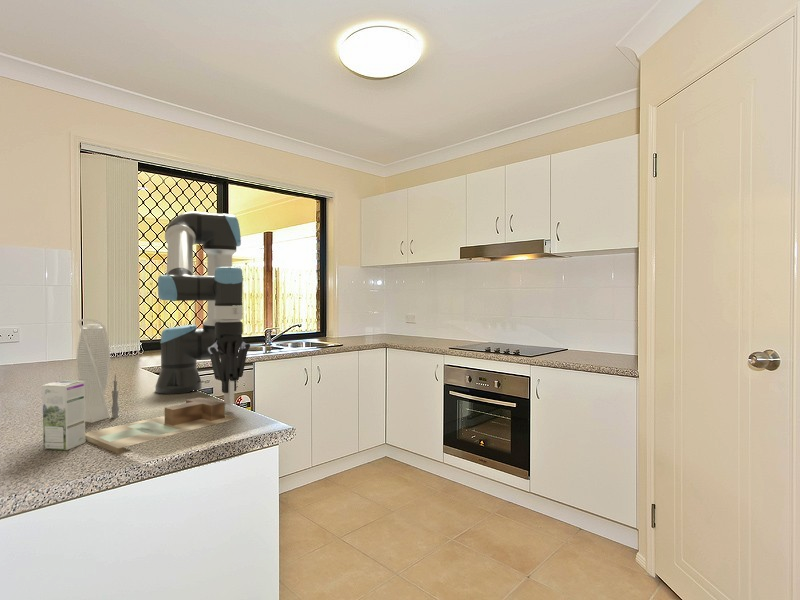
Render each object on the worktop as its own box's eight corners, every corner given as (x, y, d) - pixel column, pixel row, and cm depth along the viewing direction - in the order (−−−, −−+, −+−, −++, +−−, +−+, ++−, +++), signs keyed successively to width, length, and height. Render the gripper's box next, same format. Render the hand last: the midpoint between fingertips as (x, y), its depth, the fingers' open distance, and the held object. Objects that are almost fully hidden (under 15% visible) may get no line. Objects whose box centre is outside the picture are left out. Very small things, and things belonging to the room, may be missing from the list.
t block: (199, 411, 129) (199, 397, 129) (224, 417, 122) (224, 402, 122) (156, 420, 119) (156, 405, 119) (181, 428, 112) (181, 412, 112)
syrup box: (86, 442, 105) (86, 379, 105) (65, 451, 99) (65, 384, 99) (63, 441, 106) (63, 379, 106) (41, 450, 100) (41, 384, 100)
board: (198, 412, 133) (198, 408, 133) (239, 422, 122) (239, 418, 122) (81, 438, 108) (81, 433, 108) (118, 454, 97) (118, 448, 97)
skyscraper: (94, 429, 116) (94, 319, 116) (67, 427, 118) (67, 319, 117) (120, 420, 124) (120, 317, 124) (95, 418, 126) (95, 317, 126)
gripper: (216, 322, 123) (216, 409, 123) (256, 320, 133) (256, 401, 133) (200, 321, 127) (200, 406, 127) (240, 320, 138) (240, 398, 138)
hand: (229, 403), depth 130 cm, fingers closed
